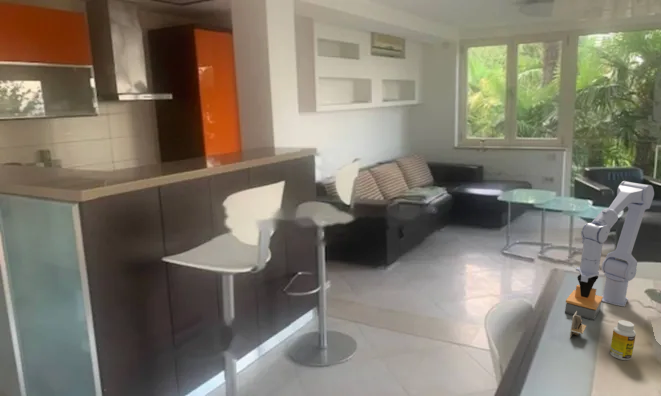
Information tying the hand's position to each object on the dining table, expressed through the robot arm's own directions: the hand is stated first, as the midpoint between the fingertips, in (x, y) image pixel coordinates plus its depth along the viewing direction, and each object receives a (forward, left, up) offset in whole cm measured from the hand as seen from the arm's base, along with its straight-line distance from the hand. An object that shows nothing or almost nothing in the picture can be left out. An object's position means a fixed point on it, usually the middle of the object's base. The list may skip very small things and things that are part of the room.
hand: (585, 295), depth 173 cm
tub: (0, 0, -6) cm, 6 cm away
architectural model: (+22, +2, -6) cm, 23 cm away
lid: (0, 0, -3) cm, 3 cm away
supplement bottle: (+27, +15, -6) cm, 31 cm away
